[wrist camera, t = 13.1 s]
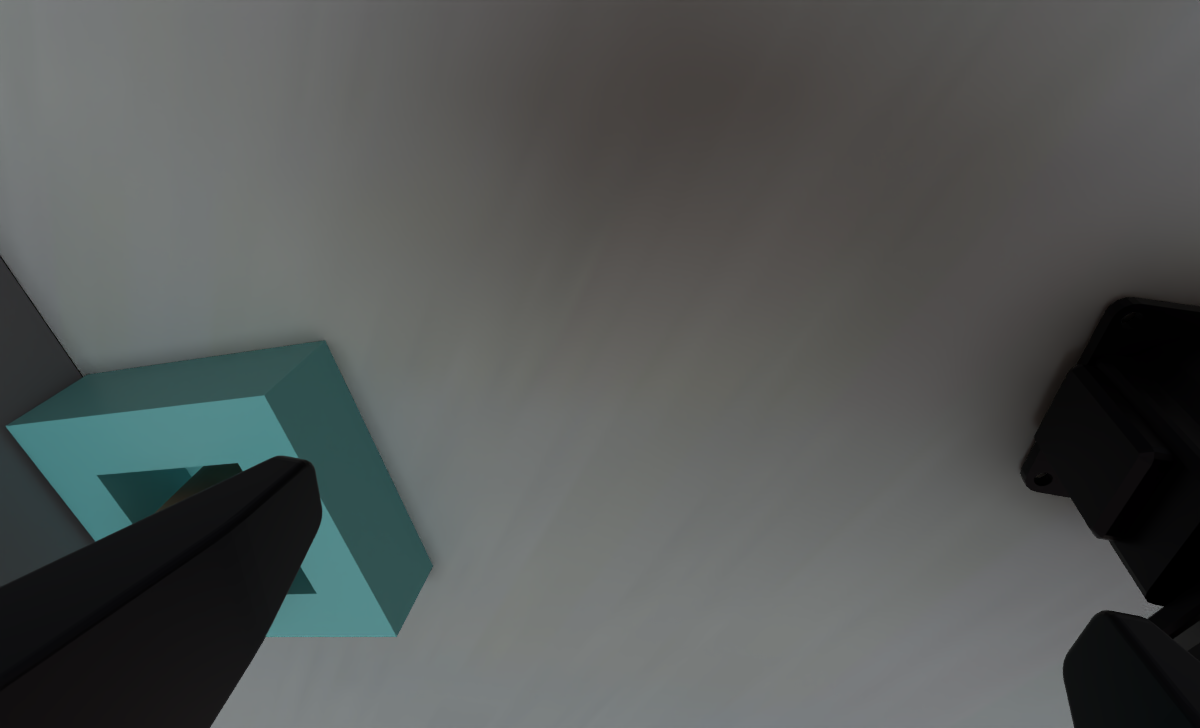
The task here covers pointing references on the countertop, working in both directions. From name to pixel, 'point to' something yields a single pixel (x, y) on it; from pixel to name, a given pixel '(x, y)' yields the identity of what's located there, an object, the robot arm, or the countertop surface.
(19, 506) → the backstop wall
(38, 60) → the countertop surface
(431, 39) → the countertop surface
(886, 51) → the countertop surface
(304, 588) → the socket block
